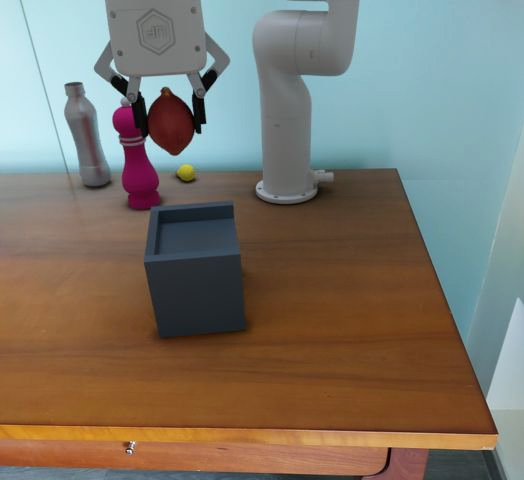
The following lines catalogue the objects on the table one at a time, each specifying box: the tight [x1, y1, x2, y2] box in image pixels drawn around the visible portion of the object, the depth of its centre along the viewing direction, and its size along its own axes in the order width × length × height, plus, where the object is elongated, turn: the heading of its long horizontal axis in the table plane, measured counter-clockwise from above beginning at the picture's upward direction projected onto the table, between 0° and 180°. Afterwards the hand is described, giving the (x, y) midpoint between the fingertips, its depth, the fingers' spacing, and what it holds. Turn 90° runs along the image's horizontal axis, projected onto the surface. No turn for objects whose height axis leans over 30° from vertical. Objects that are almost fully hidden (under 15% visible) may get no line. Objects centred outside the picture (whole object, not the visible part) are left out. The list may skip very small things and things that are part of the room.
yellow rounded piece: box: [174, 163, 196, 182], centre depth 115 cm, size 3×6×4 cm, turn 43°
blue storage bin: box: [143, 200, 247, 339], centre depth 75 cm, size 12×16×12 cm
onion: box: [147, 86, 196, 157], centre depth 64 cm, size 6×6×8 cm
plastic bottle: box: [63, 81, 111, 187], centre depth 109 cm, size 6×7×20 cm
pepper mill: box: [111, 96, 161, 210], centre depth 100 cm, size 7×7×20 cm
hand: (172, 130), depth 64 cm, fingers closed on onion, 5 cm apart
